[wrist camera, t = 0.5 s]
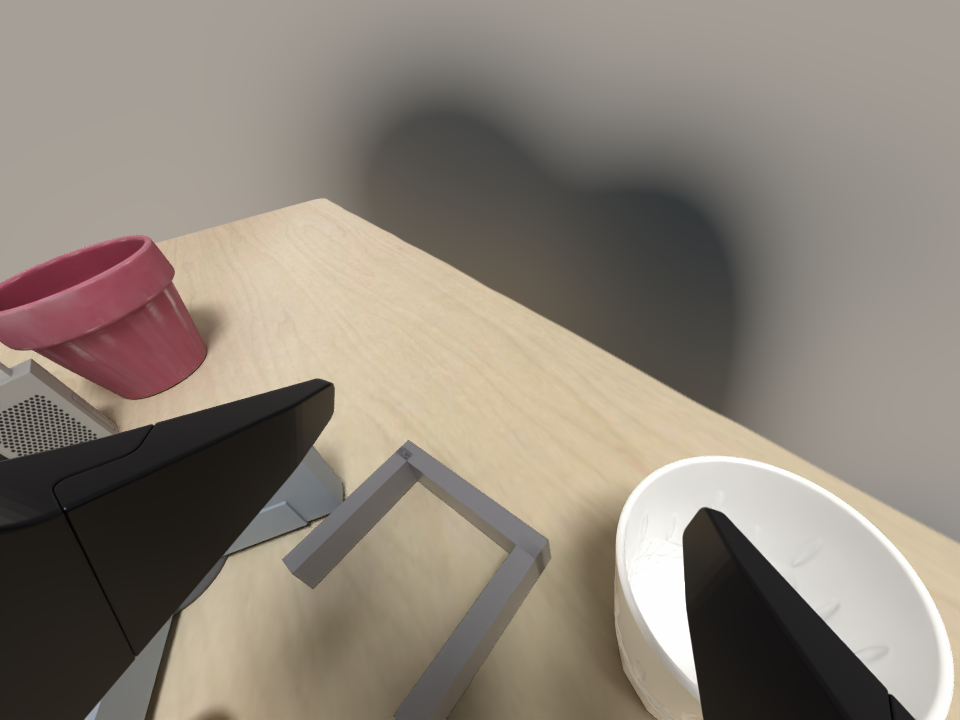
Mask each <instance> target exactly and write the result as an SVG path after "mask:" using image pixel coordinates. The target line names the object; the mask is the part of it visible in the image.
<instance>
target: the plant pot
mask: <svg viewBox="0 0 960 720" xmlns="http://www.w3.org/2000/svg"><path fill="white" fill-rule="evenodd" d="M174 274H175V271H174V268H173V267H172V265H171V264H170V263H169V261H168V260H167V259H166V257H165V256H164V255H163V253H162V252H161V251H160V250H159V248H158V247H157V246H156V245H155V243H154V242H153V241H152V240H151V239H150V238H149V237H147V236H142V235H136V236H127V237H121V238H116V239H112V240H108V241H105V242H101V243H97V244H94V245H91V246H88V247H84V248H82V249H79V250H76V251H73V252H70V253H67V254H64V255H62V256H59V257H56V258H54V259H51V260H49V261H46V262H44V263H42V264H39V265H37V266H35V267H33V268H30V269H28V270H26V271H24V272H22V273H19V274H17V275H15V276H13V277H11V278H9V279H7V280H5V281H4V282H2V283H0V342H2V343H3V344H4V345H6V346H7V347H9V348H11V349H14V350H33V351H35V352H37V353H39V354H40V355H42V356H44V357H46V358H48V359H50V360H51V361H53V362H55V363H57V364H59V365H61V366H62V367H64V368H66V369H68V370H70V371H72V372H74V373H76V374H78V375H80V376H82V377H84V378H86V379H88V380H90V381H92V382H94V383H96V384H98V385H100V386H102V387H104V388H106V389H108V390H110V391H112V392H114V393H116V394H118V395H120V396H122V397H124V398H127V399H139V398H144V397H148V396H151V395H154V394H157V393H160V392H162V391H164V390H166V389H168V388H170V387H172V386H174V385H175V384H177V383H179V382H180V381H182V380H183V379H185V378H186V377H187V376H189V375H190V374H191V373H192V372H193V371H195V370H196V369H197V368H198V367H199V365H200V364H201V363H202V362H203V360H204V358H205V356H206V352H207V351H206V347H205V345H204V343H203V341H202V339H201V337H200V335H199V333H198V331H197V329H196V327H195V325H194V323H193V321H192V319H191V317H190V315H189V313H188V311H187V309H186V307H185V305H184V303H183V301H182V299H181V297H180V295H179V293H178V291H177V290H176V288H175V286H174V284H173V282H172V279H173V277H174Z"/></svg>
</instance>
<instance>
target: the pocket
mask: <svg viewBox="0 0 960 720" xmlns="http://www.w3.org/2000/svg"><path fill="white" fill-rule="evenodd" d="M417 481H419V482H420V483H421V484H422V485H424V486H425V487H426V488H427V489H429V490H430V491H431V492H432V493H434V494H435V495H436V496H437V497H439V498H440V499H441V500H443V501H444V502H445V503H446V504H448V505H449V506H450V507H451V508H453V509H454V510H455V511H456V512H458V513H459V514H460V515H461V516H463V517H464V518H465V519H467V520H468V521H469V522H470V523H472V524H473V525H474V526H475V527H477V528H478V529H479V530H480V531H482V532H483V533H484V534H485V535H487V536H488V537H489V538H491V539H492V540H493V541H494V542H496V543H497V544H498V545H499V546H501V547H502V548H503V549H504V550H506V551H507V552H508V553H509V554H510V555H509V556H508V557H507V559H506V560H505V562H504V563H503V564H502V566H501V567H500V568H499V570H498V571H497V573H496V574H495V575H494V577H493V578H492V580H491V581H490V582H489V584H488V585H487V587H486V588H485V589H484V591H483V592H482V593H481V595H480V596H479V598H478V599H477V600H476V602H475V603H474V605H473V606H472V607H471V609H470V610H469V612H468V613H467V614H466V616H465V617H464V619H463V620H462V621H461V623H460V624H459V625H458V627H457V628H456V630H455V631H454V632H453V634H452V635H451V637H450V638H449V639H448V641H447V642H446V644H445V645H444V646H443V648H442V649H441V651H440V652H439V653H438V655H437V656H436V657H435V659H434V660H433V662H432V663H431V664H430V666H429V667H428V669H427V670H426V671H425V673H424V674H423V676H422V677H421V678H420V680H419V681H418V683H417V684H416V685H415V687H414V688H413V689H412V691H411V692H410V694H409V695H408V696H407V698H406V699H405V701H404V702H403V703H402V705H401V706H400V708H399V709H398V710H397V712H396V713H395V715H394V717H395V719H396V720H446V719H447V717H448V716H449V714H450V713H451V711H452V710H453V708H454V706H455V705H456V703H457V702H458V700H459V699H460V697H461V696H462V694H463V693H464V691H465V690H466V688H467V687H468V685H469V683H470V682H471V680H472V679H473V677H474V676H475V674H476V673H477V671H478V670H479V668H480V667H481V665H482V664H483V662H484V660H485V659H486V657H487V656H488V654H489V653H490V651H491V650H492V648H493V647H494V645H495V644H496V642H497V641H498V639H499V637H500V636H501V634H502V633H503V631H504V630H505V628H506V627H507V625H508V624H509V622H510V621H511V619H512V618H513V616H514V614H515V613H516V611H517V610H518V608H519V607H520V605H521V604H522V602H523V601H524V599H525V598H526V596H527V595H528V593H529V591H530V590H531V588H532V587H533V585H534V584H535V582H536V581H537V579H538V578H539V576H540V575H541V573H542V572H543V570H544V568H545V567H546V565H547V564H548V562H549V561H550V559H551V554H550V546H549V540H548V539H547V538H545V537H544V536H543V535H541V534H540V533H538V532H537V531H536V530H534V529H533V528H531V527H530V526H529V525H527V524H526V523H524V522H523V521H522V520H520V519H519V518H517V517H516V516H515V515H513V514H512V513H510V512H509V511H508V510H506V509H505V508H503V507H502V506H501V505H499V504H498V503H496V502H495V501H494V500H492V499H491V498H489V497H488V496H487V495H485V494H484V493H482V492H481V491H480V490H478V489H477V488H475V487H474V486H473V485H471V484H470V483H468V482H467V481H466V480H464V479H463V478H461V477H460V476H459V475H457V474H456V473H454V472H453V471H452V470H450V469H449V468H447V467H446V466H445V465H443V464H442V463H440V462H439V461H438V460H436V459H435V458H433V457H432V456H431V455H429V454H428V453H426V452H425V451H423V450H422V449H421V448H419V447H418V446H416V445H415V444H414V443H412V442H411V441H409V440H408V441H407V442H406V443H405V444H404V445H403V446H401V447H400V448H399V449H398V450H397V451H396V452H395V453H394V454H393V455H392V456H391V457H390V458H389V459H388V460H387V461H386V462H385V463H384V464H383V465H381V466H380V467H379V468H378V469H377V470H376V471H375V472H374V473H373V474H372V475H371V476H370V477H369V478H368V479H367V480H366V481H365V482H364V483H362V484H361V485H360V486H359V487H358V488H357V489H356V490H355V491H354V492H353V493H352V494H351V495H350V496H349V497H348V498H347V499H346V500H345V501H343V502H342V503H341V504H340V505H339V506H338V507H337V508H336V509H335V510H334V511H333V512H332V513H331V514H330V515H329V516H328V517H327V518H326V519H324V520H323V521H322V522H321V523H320V524H319V525H318V526H317V527H316V528H315V529H314V530H313V531H312V532H311V533H310V534H309V535H308V536H307V537H305V538H304V539H303V540H302V541H301V542H300V543H299V544H298V545H297V546H296V547H295V548H294V549H293V550H292V551H291V552H290V553H289V554H288V555H287V556H285V557H284V558H283V559H282V560H283V562H284V563H285V565H286V566H287V567H288V569H289V570H290V572H291V573H292V574H293V575H295V576H296V577H297V578H299V579H300V580H301V581H303V582H304V583H305V584H307V585H308V586H310V587H311V588H312V589H313V588H314V587H315V586H316V585H317V584H318V583H319V582H320V581H321V580H322V579H323V578H324V577H325V576H326V575H327V574H328V573H329V572H330V571H331V570H332V569H333V568H334V567H335V566H336V565H337V563H338V562H339V561H340V560H341V559H342V558H343V557H344V556H345V555H346V554H347V553H348V552H349V551H350V550H351V549H352V548H353V547H354V546H355V545H356V544H357V543H358V542H359V541H360V540H361V539H362V538H363V537H364V536H365V534H366V533H367V532H368V531H369V530H370V529H371V528H372V527H373V526H374V525H375V524H376V523H377V522H378V521H379V520H380V519H381V518H382V517H383V516H384V515H385V514H386V513H387V512H388V511H389V510H390V509H391V508H392V507H393V506H394V504H395V503H396V502H397V501H398V500H399V499H400V498H401V497H402V496H403V495H404V494H405V493H406V492H407V491H408V490H409V489H410V488H411V487H412V486H413V485H414V484H415V483H416V482H417Z"/></svg>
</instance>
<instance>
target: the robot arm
mask: <svg viewBox="0 0 960 720" xmlns="http://www.w3.org/2000/svg"><path fill="white" fill-rule="evenodd" d="M334 396H335V387H334V385H333V383H331V382H328V381H325V380H322V379H313V380H309V381H306V382H302V383H299V384H295V385H292V386H288V387H284V388H281V389H277V390H274V391H270V392H266V393H263V394H259V395H256V396H252V397H248V398H245V399H241V400H237V401H234V402H230V403H227V404H223V405H219V406H216V407H212V408H209V409H205V410H201V411H198V412H194V413H191V414H187V415H183V416H180V417H176V418H173V419H169V420H165V421H162V422H158V423H156V424H155V425H153V424H151V425H147V426H144V427H140V428H136V429H133V430H129V431H125V432H122V433H118V434H114V435H110V436H106V437H102V438H99V439H95V440H90V441H86V442H82V443H78V444H73V445H69V446H65V447H61V448H56V449H52V450H47V451H43V452H38V453H34V454H29V455H25V456H20V457H16V458H11V459H7V460H3V461H0V720H84V719H85V718H86V717H87V716H88V715H89V714H90V712H91V711H92V710H93V709H94V708H95V707H96V705H97V704H98V703H99V702H100V701H101V699H102V698H103V697H104V696H105V695H106V694H107V692H108V691H109V690H110V689H111V688H112V686H113V685H114V684H115V683H116V682H117V681H118V679H119V678H120V677H121V676H122V675H123V673H124V672H125V671H126V670H127V669H128V668H129V666H130V665H131V664H132V663H133V662H134V661H135V659H136V658H135V657H136V656H138V655H139V654H140V653H141V652H142V651H143V649H144V648H145V647H146V646H147V645H148V644H149V642H150V641H151V640H152V639H153V638H154V636H155V635H156V634H157V633H158V632H159V631H160V629H161V628H162V627H163V626H164V625H165V623H166V622H167V621H168V620H169V619H170V618H171V616H172V615H173V614H174V613H175V612H176V610H177V609H178V608H179V607H180V606H181V605H182V603H183V602H184V601H185V600H186V599H187V598H188V596H189V595H190V594H191V593H192V592H193V590H194V589H195V588H196V587H197V586H198V585H199V583H200V582H201V581H202V580H203V579H204V577H205V576H206V575H207V574H208V573H209V572H210V570H211V569H212V568H213V567H214V566H215V564H216V563H217V562H218V561H219V560H220V559H221V557H222V556H223V555H224V554H225V553H226V551H227V550H228V549H229V548H230V547H231V546H232V544H233V543H234V542H235V541H236V540H237V539H238V537H239V536H240V535H241V534H242V533H243V531H244V530H245V529H246V528H247V527H248V526H249V524H250V523H251V522H252V521H253V520H254V518H255V517H256V516H257V515H258V514H259V513H260V511H261V510H262V509H263V508H264V507H265V505H266V504H267V503H268V502H269V501H270V500H271V498H272V497H273V496H274V495H275V494H276V492H277V491H278V490H279V489H280V488H281V487H282V485H283V484H284V483H285V482H286V481H287V480H288V478H289V477H290V476H291V475H292V474H293V472H294V471H295V470H296V469H297V467H298V466H299V465H300V463H301V462H302V460H303V459H304V458H305V456H306V455H307V453H308V452H309V450H310V449H311V447H312V446H313V444H314V443H315V441H316V440H317V438H318V437H319V435H320V434H321V432H322V431H323V429H324V428H325V426H326V425H327V424H328V422H329V421H330V419H331V417H332V415H333V412H334ZM682 544H683V565H684V586H685V603H686V612H687V620H688V626H689V632H690V639H691V645H692V652H693V658H694V664H695V671H696V677H697V683H698V690H699V696H700V703H701V709H702V715H703V720H916V719H915V718H914V717H913V716H912V715H911V714H910V713H909V712H908V711H907V710H906V709H905V707H904V706H903V705H902V704H901V703H900V702H899V701H898V700H897V699H896V698H895V697H894V696H893V695H892V694H889V693H888V690H887V688H886V687H885V686H884V685H883V684H882V683H881V682H880V681H879V680H878V678H877V677H876V676H875V675H874V674H873V673H872V672H871V671H870V670H869V669H868V668H867V667H866V666H865V665H864V663H863V662H862V661H861V660H860V659H859V658H858V657H857V656H856V655H855V654H854V653H853V652H852V651H851V649H850V648H849V647H848V646H847V645H846V644H845V643H844V642H843V641H842V640H841V639H840V638H839V637H838V635H837V634H836V633H835V632H834V631H833V630H832V629H831V628H830V627H829V626H828V625H827V624H826V623H825V621H824V620H823V619H822V618H821V617H820V616H819V615H818V614H817V613H816V612H815V611H814V610H813V609H812V607H811V606H810V605H809V604H808V603H807V602H806V601H805V600H804V599H803V598H802V597H801V596H800V595H799V593H798V592H797V591H796V590H795V589H794V588H793V587H792V586H791V585H790V584H789V583H788V582H787V581H786V579H785V578H784V577H783V576H782V575H781V574H780V573H779V572H778V571H777V570H776V569H775V568H774V567H773V565H772V564H771V563H770V562H769V561H768V560H767V559H766V558H765V557H764V556H763V555H762V554H761V553H760V551H759V550H758V549H757V548H756V547H755V546H754V545H753V544H752V543H751V542H750V541H749V540H748V539H747V537H746V536H745V535H744V534H743V533H742V532H741V531H740V530H739V529H738V528H737V527H736V526H735V525H734V523H733V522H732V521H731V520H730V519H729V518H728V517H727V516H726V515H725V514H724V513H722V512H720V511H717V510H714V509H711V508H708V507H702V508H700V509H699V510H698V512H697V513H696V514H695V516H694V517H693V518H692V520H691V521H690V522H689V524H688V525H687V527H686V528H685V530H684V532H683V537H682Z"/></svg>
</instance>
